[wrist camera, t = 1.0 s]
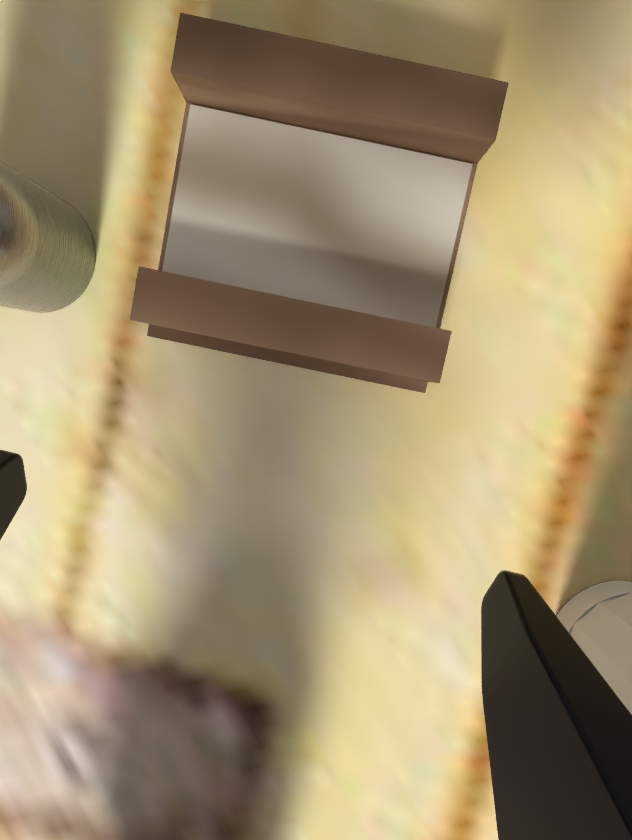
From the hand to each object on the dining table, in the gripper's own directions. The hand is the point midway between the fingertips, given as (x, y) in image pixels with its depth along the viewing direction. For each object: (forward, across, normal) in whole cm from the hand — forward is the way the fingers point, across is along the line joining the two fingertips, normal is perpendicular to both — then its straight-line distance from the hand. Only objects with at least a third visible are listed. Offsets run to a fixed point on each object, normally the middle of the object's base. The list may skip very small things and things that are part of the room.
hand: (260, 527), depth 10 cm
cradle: (+16, +1, -1) cm, 16 cm away
